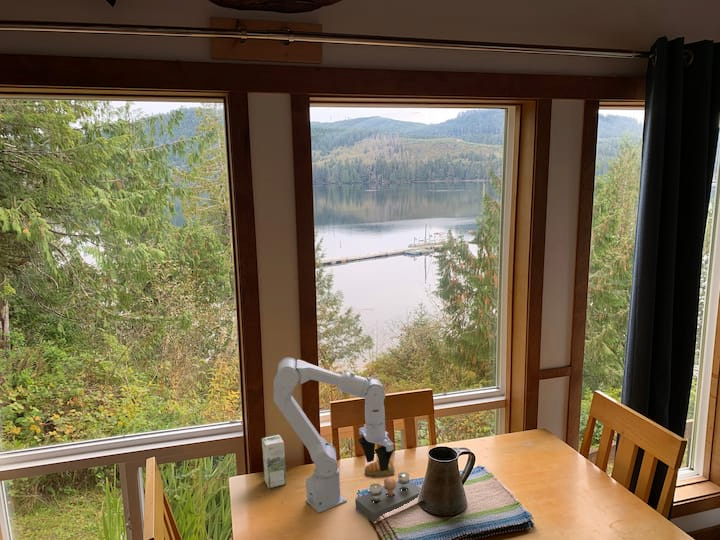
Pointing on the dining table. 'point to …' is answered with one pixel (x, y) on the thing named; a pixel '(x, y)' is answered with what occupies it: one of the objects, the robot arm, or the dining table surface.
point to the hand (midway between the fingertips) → (377, 465)
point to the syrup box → (274, 461)
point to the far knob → (403, 480)
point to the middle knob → (390, 486)
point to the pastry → (375, 470)
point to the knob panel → (386, 501)
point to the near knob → (375, 492)
